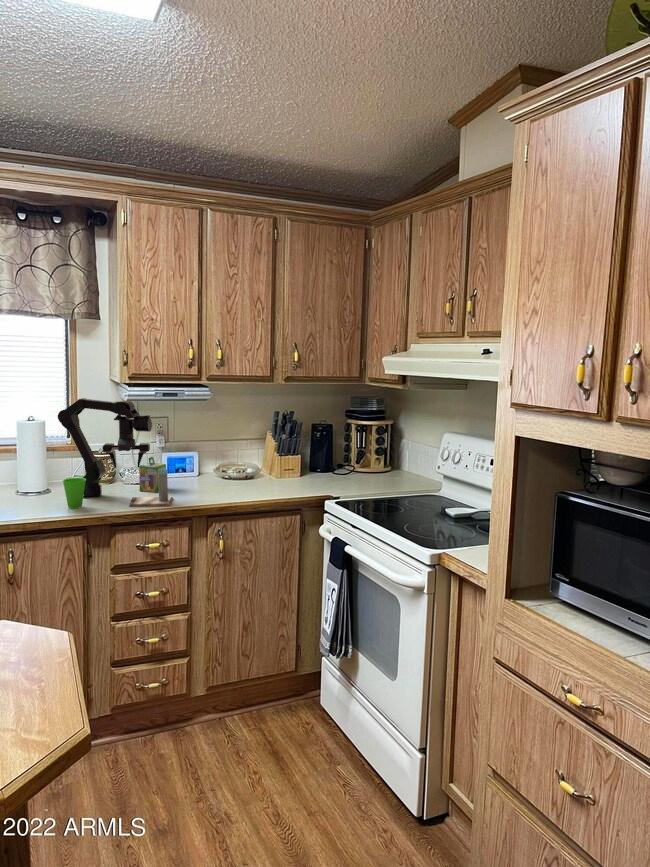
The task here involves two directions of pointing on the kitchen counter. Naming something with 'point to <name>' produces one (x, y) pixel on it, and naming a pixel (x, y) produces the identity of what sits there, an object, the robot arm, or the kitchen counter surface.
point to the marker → (163, 485)
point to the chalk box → (150, 476)
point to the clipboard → (149, 502)
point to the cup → (74, 491)
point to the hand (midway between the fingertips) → (127, 467)
